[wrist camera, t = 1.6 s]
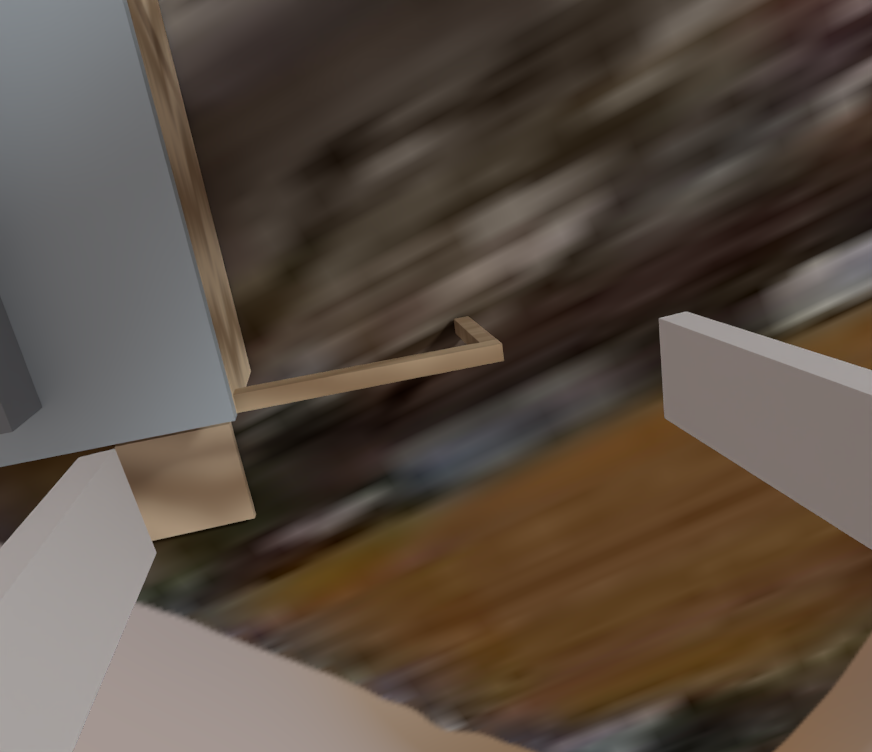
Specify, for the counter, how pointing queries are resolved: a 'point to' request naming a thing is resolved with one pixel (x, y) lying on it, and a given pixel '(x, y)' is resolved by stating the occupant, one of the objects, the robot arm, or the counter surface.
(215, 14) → the counter surface
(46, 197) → the cover
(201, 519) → the cork coaster
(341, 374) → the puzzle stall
